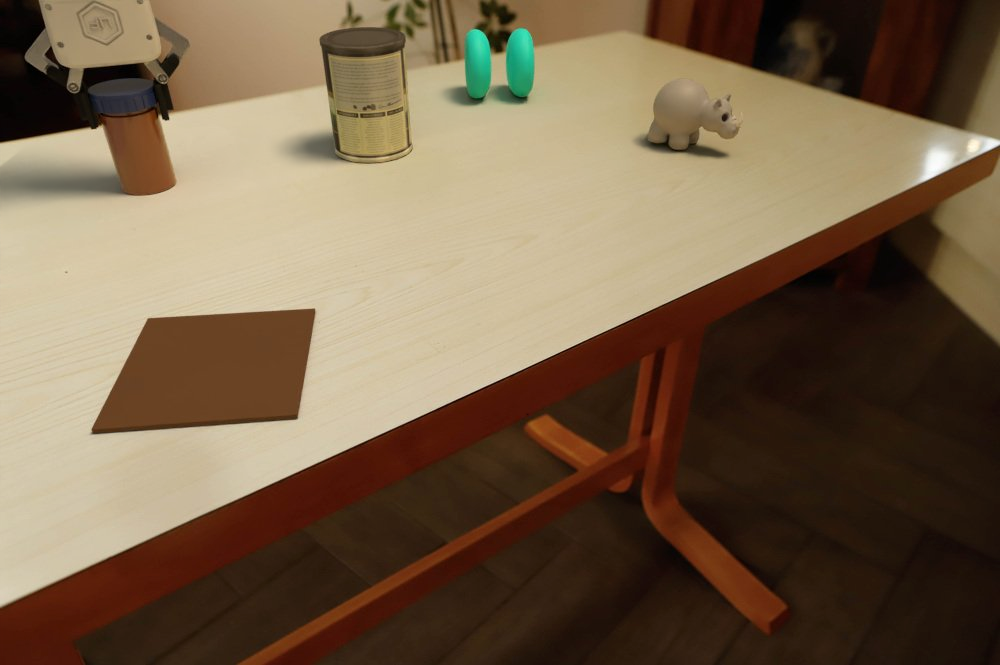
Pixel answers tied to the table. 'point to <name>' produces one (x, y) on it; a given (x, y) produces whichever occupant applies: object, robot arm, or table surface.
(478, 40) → the donuts
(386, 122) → the coffee can
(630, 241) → the table surface
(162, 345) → the cork mat
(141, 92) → the jar lid
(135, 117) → the jam jar
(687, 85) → the toy rhinoceros
